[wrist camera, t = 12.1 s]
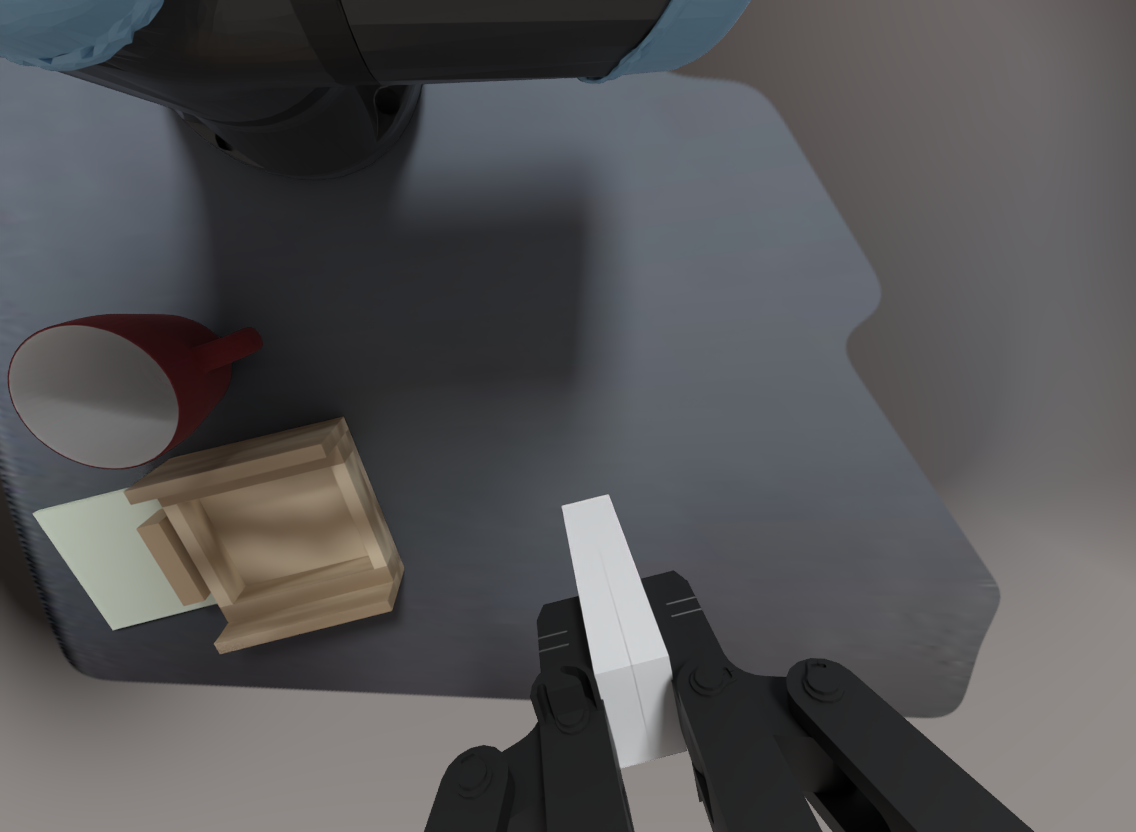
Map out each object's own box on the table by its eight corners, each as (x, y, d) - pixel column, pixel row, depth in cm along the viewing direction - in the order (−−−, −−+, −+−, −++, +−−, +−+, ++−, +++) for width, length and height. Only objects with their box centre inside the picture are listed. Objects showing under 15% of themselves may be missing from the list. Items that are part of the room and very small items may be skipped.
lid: (43, 506, 40) (-1, 533, 37) (174, 473, 40) (143, 497, 37) (121, 621, 44) (88, 655, 41) (240, 591, 44) (217, 622, 41)
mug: (242, 257, 35) (146, 270, 26) (315, 362, 38) (253, 408, 29) (107, 329, 36) (-34, 368, 26) (190, 428, 39) (89, 494, 29)
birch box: (170, 458, 39) (123, 491, 34) (343, 416, 40) (320, 443, 35) (251, 606, 44) (220, 654, 39) (404, 568, 45) (392, 610, 40)
